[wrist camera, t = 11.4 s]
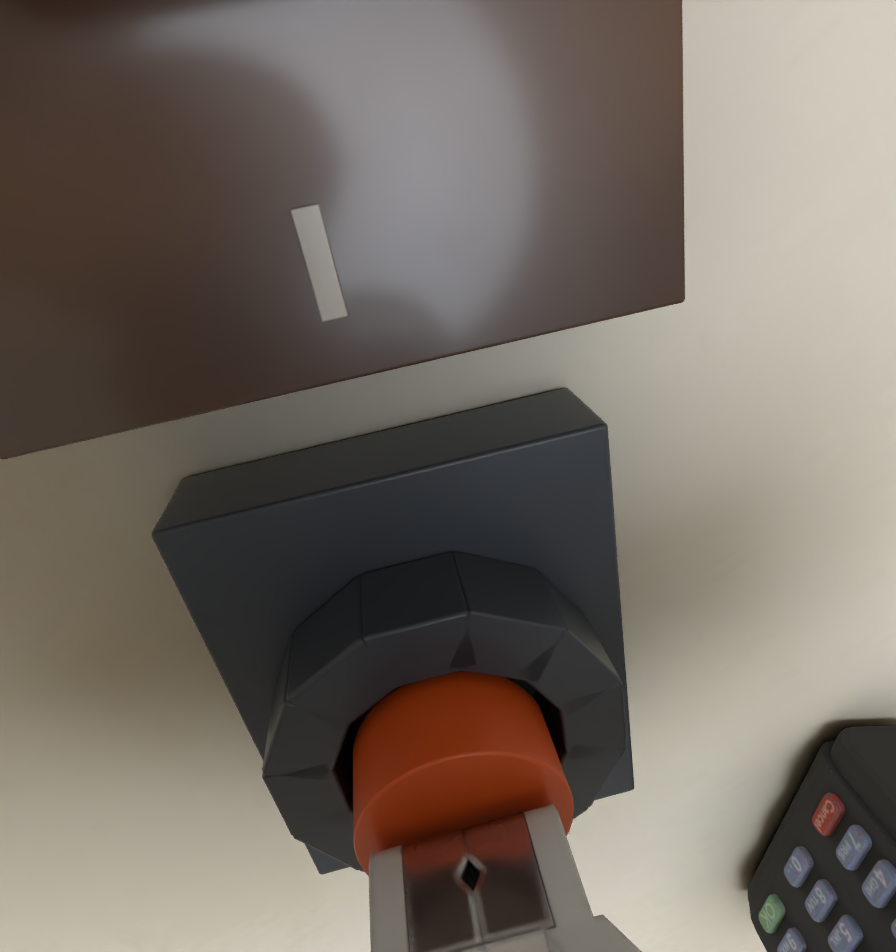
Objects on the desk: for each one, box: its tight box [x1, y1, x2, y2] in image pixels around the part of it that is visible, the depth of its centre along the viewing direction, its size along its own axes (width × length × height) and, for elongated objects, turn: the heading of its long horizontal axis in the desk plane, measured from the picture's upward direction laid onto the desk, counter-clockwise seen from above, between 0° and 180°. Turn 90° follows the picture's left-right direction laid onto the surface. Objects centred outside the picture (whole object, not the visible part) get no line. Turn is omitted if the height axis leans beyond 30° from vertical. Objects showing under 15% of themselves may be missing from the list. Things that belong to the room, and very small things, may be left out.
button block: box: [152, 388, 634, 874], centre depth 13 cm, size 10×8×4 cm
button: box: [353, 671, 574, 876], centre depth 10 cm, size 4×4×2 cm
